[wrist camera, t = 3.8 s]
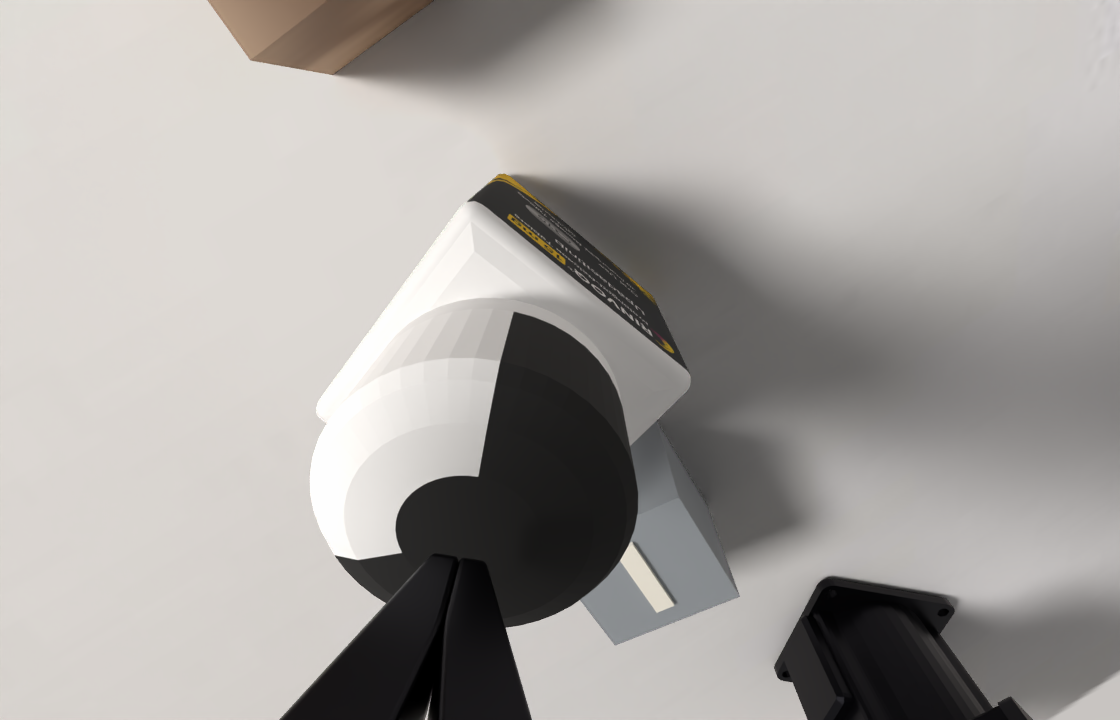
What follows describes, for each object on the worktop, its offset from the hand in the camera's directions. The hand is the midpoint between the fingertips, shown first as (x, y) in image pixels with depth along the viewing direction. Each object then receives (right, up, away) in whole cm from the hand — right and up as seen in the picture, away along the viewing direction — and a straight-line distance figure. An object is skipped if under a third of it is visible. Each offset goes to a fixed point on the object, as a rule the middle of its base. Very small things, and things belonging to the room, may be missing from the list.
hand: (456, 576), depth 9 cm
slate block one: (+5, -2, +15) cm, 16 cm away
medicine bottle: (0, +5, +12) cm, 13 cm away
